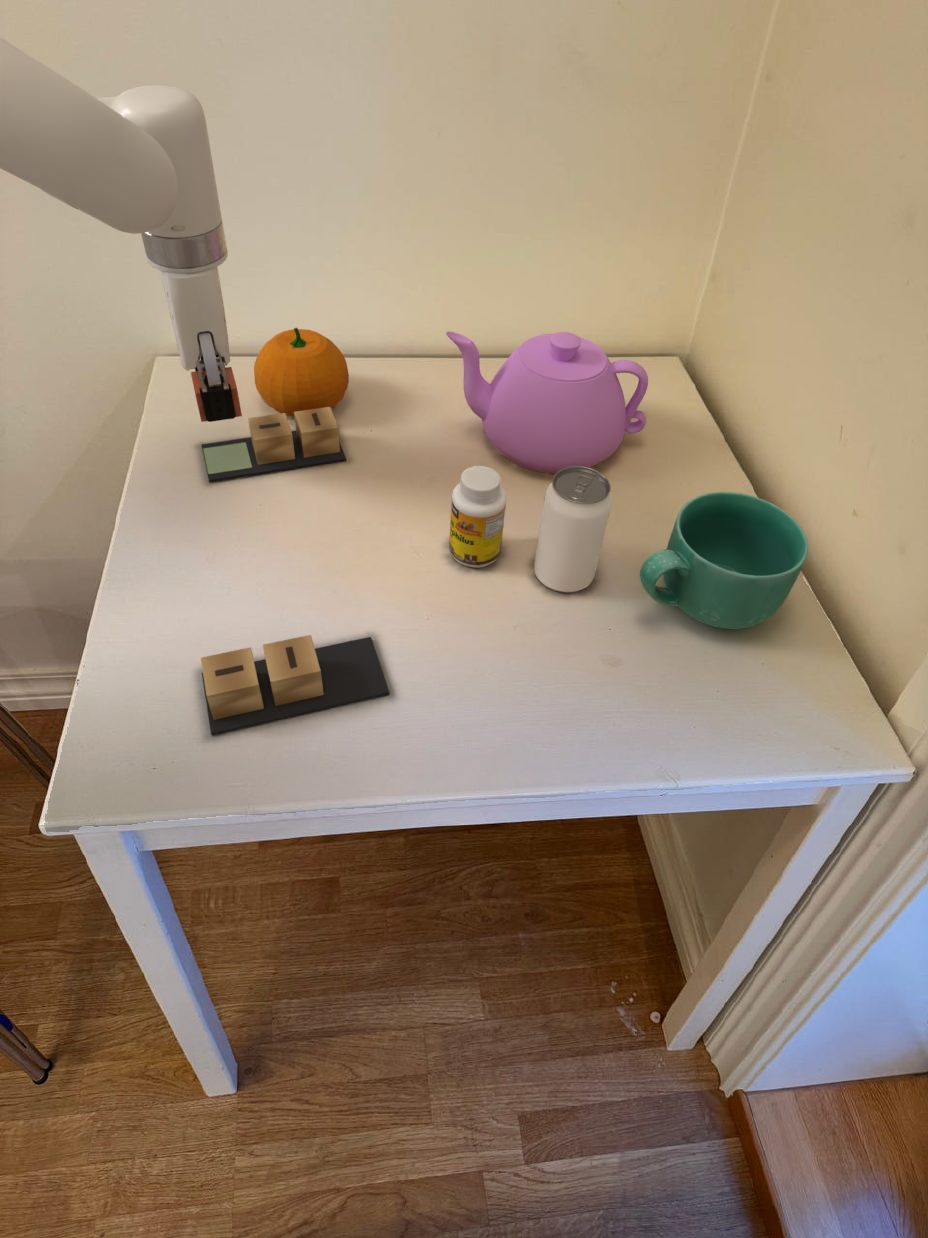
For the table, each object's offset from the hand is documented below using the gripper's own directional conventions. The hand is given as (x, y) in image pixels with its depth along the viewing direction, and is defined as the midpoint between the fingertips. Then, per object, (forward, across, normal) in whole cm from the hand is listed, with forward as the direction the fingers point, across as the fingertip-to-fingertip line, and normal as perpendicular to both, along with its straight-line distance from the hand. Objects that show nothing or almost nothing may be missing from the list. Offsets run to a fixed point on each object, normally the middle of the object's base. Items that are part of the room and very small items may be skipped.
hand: (217, 404), depth 92 cm
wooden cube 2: (+7, +35, +1) cm, 36 cm away
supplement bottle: (+8, +23, +23) cm, 33 cm away
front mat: (+8, +35, +1) cm, 36 cm away
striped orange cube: (+1, 0, 0) cm, 1 cm away
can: (+8, +28, +31) cm, 43 cm away
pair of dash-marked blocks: (+7, 0, +8) cm, 11 cm away
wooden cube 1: (+7, +35, -4) cm, 36 cm away
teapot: (+8, +5, +38) cm, 39 cm away
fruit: (+8, -10, +11) cm, 17 cm away
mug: (+8, +36, +43) cm, 57 cm away
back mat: (+8, 0, +5) cm, 9 cm away
